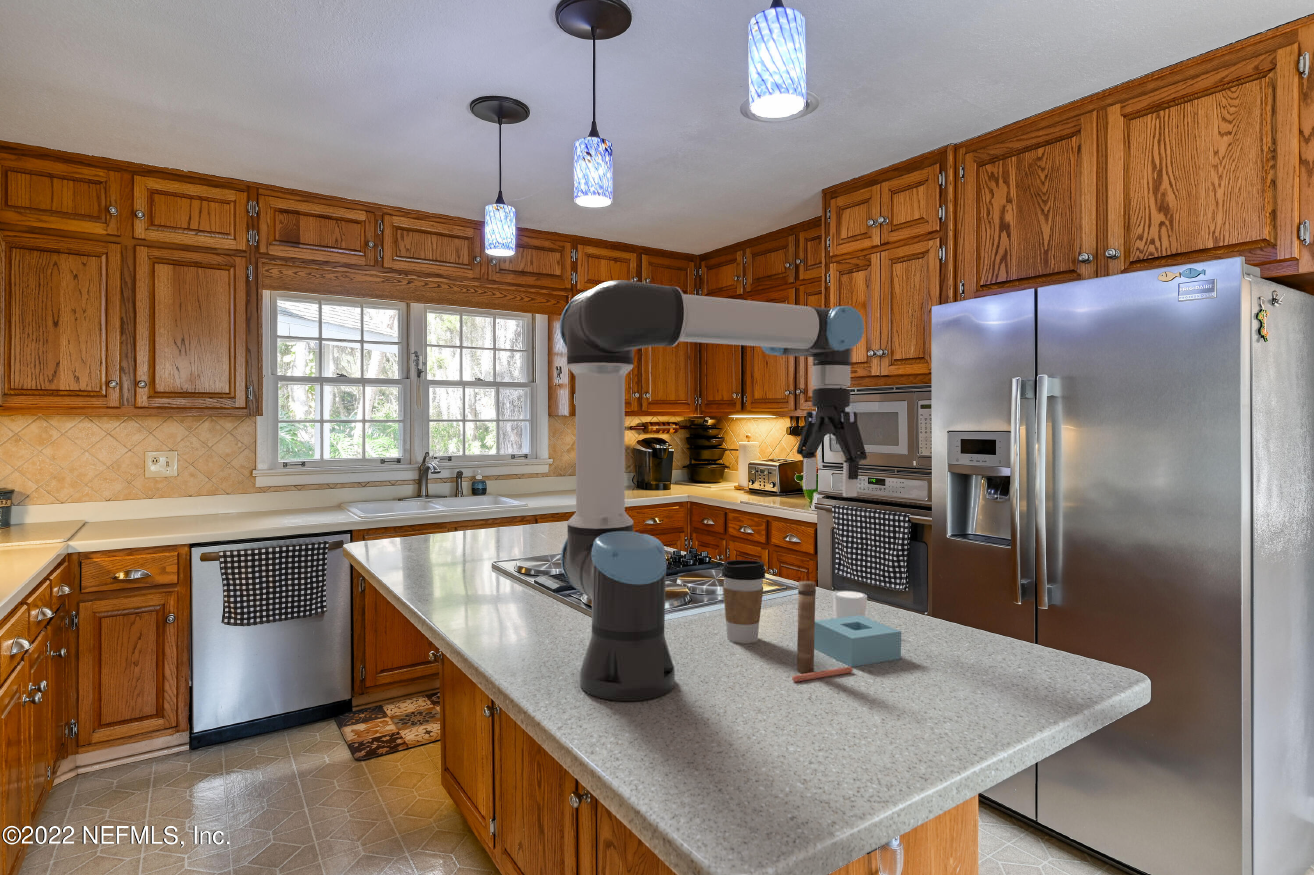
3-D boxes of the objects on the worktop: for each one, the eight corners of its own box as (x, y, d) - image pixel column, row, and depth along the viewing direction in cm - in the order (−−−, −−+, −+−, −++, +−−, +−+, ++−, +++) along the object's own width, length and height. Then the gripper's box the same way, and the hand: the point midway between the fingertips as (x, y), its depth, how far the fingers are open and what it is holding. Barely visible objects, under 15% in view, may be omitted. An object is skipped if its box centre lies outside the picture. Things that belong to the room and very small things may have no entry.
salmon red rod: (794, 683, 115) (794, 677, 115) (790, 681, 116) (790, 675, 116) (853, 673, 120) (854, 667, 120) (850, 671, 121) (850, 665, 121)
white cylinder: (870, 633, 142) (871, 598, 142) (835, 633, 143) (836, 598, 142) (861, 623, 149) (862, 590, 149) (828, 622, 149) (829, 589, 149)
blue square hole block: (851, 667, 123) (851, 638, 123) (812, 647, 133) (813, 621, 133) (900, 659, 128) (901, 631, 127) (859, 640, 138) (860, 615, 137)
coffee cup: (750, 648, 132) (752, 568, 132) (711, 639, 137) (713, 562, 137) (772, 637, 139) (773, 561, 138) (734, 629, 144) (735, 555, 143)
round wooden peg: (803, 674, 119) (805, 585, 119) (793, 669, 122) (794, 581, 121) (817, 672, 120) (819, 584, 120) (807, 666, 123) (809, 580, 122)
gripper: (887, 386, 134) (884, 499, 135) (811, 389, 157) (809, 486, 158) (854, 385, 131) (852, 500, 132) (782, 388, 154) (779, 486, 155)
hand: (828, 492), depth 145 cm, fingers open, 13 cm apart
